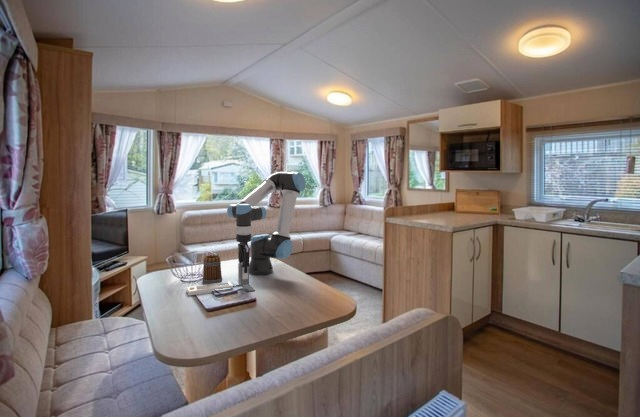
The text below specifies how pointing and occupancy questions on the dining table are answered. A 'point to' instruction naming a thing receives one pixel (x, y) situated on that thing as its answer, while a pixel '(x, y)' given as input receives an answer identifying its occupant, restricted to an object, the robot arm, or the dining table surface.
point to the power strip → (207, 288)
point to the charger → (240, 280)
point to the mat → (248, 288)
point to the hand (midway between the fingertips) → (243, 277)
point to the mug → (212, 269)
